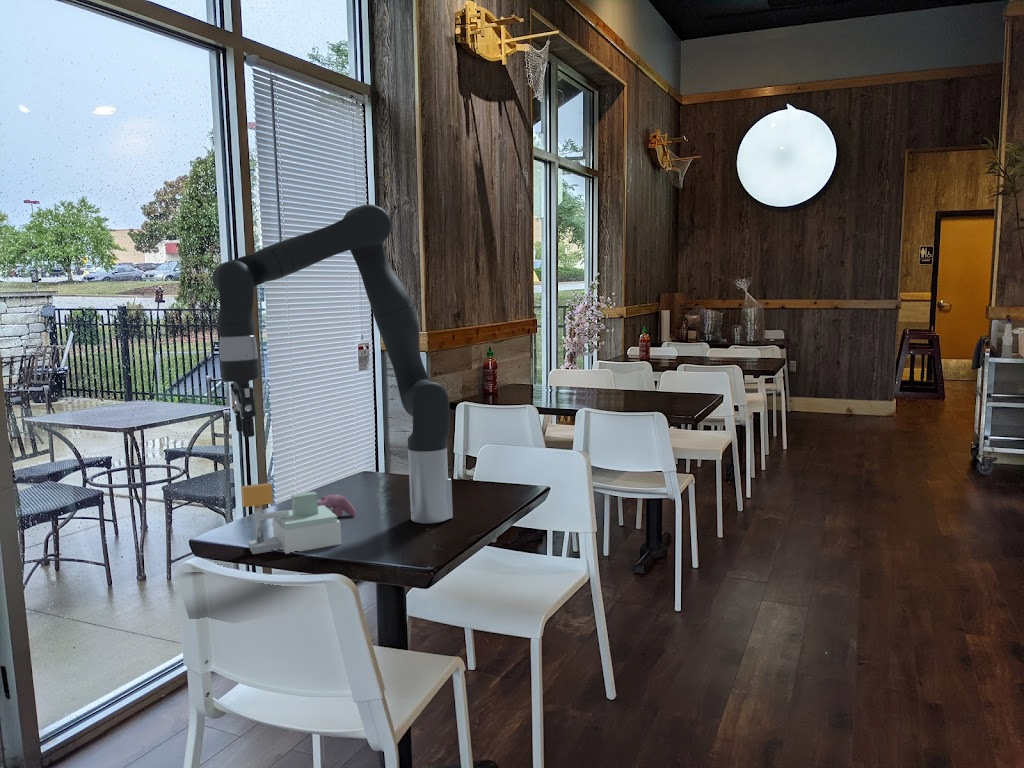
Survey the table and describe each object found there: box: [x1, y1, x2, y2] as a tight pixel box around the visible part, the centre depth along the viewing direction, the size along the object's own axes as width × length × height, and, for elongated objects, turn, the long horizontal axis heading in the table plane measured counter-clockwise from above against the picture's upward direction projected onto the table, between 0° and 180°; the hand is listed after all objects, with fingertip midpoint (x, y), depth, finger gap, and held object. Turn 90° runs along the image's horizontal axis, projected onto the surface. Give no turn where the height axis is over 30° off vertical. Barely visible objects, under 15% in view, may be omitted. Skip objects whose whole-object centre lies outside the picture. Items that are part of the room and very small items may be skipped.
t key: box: [240, 482, 289, 542], centre depth 173 cm, size 9×2×12 cm, turn 118°
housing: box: [248, 518, 342, 555], centre depth 176 cm, size 18×12×5 cm, turn 118°
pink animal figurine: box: [318, 494, 356, 518], centre depth 195 cm, size 10×5×7 cm, turn 141°
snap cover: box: [276, 491, 338, 530], centre depth 177 cm, size 11×11×6 cm
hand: (245, 433), depth 170 cm, fingers open, 8 cm apart
